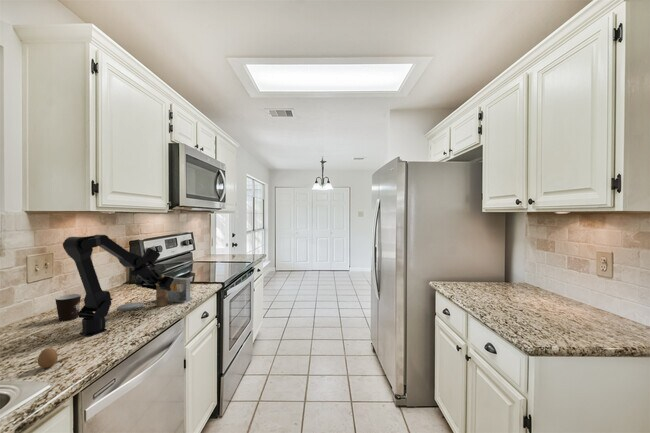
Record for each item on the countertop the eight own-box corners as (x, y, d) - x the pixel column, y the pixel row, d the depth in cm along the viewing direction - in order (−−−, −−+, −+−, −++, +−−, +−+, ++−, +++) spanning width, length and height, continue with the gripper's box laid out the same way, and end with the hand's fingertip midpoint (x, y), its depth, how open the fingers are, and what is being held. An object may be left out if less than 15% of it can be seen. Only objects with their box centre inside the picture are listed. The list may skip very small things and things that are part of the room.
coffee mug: (65, 323, 123) (65, 300, 122) (50, 321, 124) (49, 298, 124) (92, 313, 134) (92, 292, 134) (78, 312, 136) (77, 291, 136)
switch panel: (184, 302, 150) (184, 280, 150) (159, 300, 154) (159, 278, 154) (192, 299, 156) (192, 277, 156) (168, 297, 160) (168, 276, 160)
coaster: (127, 311, 137) (127, 310, 137) (112, 308, 141) (112, 307, 141) (149, 305, 147) (149, 303, 147) (134, 302, 151) (134, 301, 151)
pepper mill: (161, 307, 143) (160, 276, 143) (153, 306, 145) (153, 275, 145) (170, 304, 148) (170, 274, 147) (163, 303, 150) (163, 273, 150)
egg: (42, 372, 85) (42, 352, 85) (34, 369, 87) (34, 349, 86) (61, 365, 89) (60, 346, 89) (52, 362, 91) (52, 343, 91)
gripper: (170, 260, 140) (187, 277, 151) (140, 258, 144) (158, 275, 155) (157, 279, 132) (176, 296, 143) (126, 277, 137) (146, 293, 148)
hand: (164, 289), depth 147 cm, fingers open, 7 cm apart
